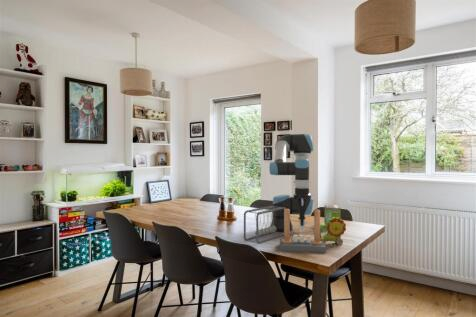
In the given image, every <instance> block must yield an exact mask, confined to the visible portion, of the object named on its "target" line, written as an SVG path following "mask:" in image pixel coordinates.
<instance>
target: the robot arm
mask: <svg viewBox="0 0 476 317" xmlns="http://www.w3.org/2000/svg"><path fill="white" fill-rule="evenodd" d="M274 149H275V155H274V159H273V161H271V162H270V163H269V167H268V169H269V174H270V175H271V176H294V181H293V183H294V187H295V188H294V193H293V196H291V194H280V195H275V196H274V197H272V206H274V208H275V209H276V208H277V207H285V208H286V209H290V215H295V216H296V215H299V217H298V220H299V224H298V226H299V228H298V229H299V232H303V233H304V232H305V231H306V230H305V229H306V228H305V226H306V225H305V224H306V223H305V219H306V216H309V215H311V214H312V212H313V206H314V197H313V196H312V193H310V160H309V159H310V156H311V155H312V152H313V151H314V144H313V138H312V135H311V134H308V133H298V134H297V133H296V134H295V133H294V134H291V133H289V134H284V135H283V136H281V137H280V138H279V139H277V140H276V142H275V146H274ZM288 152H293V156H295V160H294V161H290V162H288ZM275 214H276V216H275ZM274 221H275V222H274V226H275V227H276V231H275V232H276V233H284V209H281V210H277V211H274ZM270 223H271V225H270V224H269V227H271V226H272V221H270ZM293 228H294V226H293V223H292V221H291V218H290V232H292V231H293V230H294V229H293Z"/></svg>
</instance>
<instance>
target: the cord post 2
mask: <svg viewBox="0 0 476 317" xmlns="http://www.w3.org/2000/svg"><path fill="white" fill-rule="evenodd" d="M313 211H314V212H313V213H314V214H313V218H314V219H313V222H314V223H313V224H314V225H313V226H314V227H313V228H314V232H313V233H314V235H313V236H314V237H313V241H312V244H315V245H321V244H322V241H320V226H321V210H320V209H314V210H313Z"/></svg>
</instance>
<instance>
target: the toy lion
mask: <svg viewBox="0 0 476 317" xmlns="http://www.w3.org/2000/svg"><path fill="white" fill-rule="evenodd" d="M346 226H347V224H346V223H345V221H344V220H343V219H341V217H340V218H335V217H332V218H330V219H328V221H327V222H326V224H324V223H323V224H321V225H320V241H324V243H325V244H326V242H333V243H335V244H336V245H337V246H341V245H343V242H344V241H343V239H342V237H341V236H343V235H344V234H345V232H346V231H347V228H346ZM324 229H326V231H327V233H325V234H324V235H323V236H322V231H323V230H324Z"/></svg>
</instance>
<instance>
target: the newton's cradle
mask: <svg viewBox="0 0 476 317" xmlns="http://www.w3.org/2000/svg"><path fill="white" fill-rule="evenodd" d="M281 209H286V208H285V207H277V208H276V209H275V208H274V206H273V205H268V206H264V207H259V208H254V209H248V210H245V211H244V213H243V239H244V241H249V242H253V243H257V244H259V245H260V244H262V243H265V242H269V241H271V240H273V239H278V238H280V237H283V236H284V232H277V231H276V227H275V226H274V222H275V221H274V211H277V210H281ZM247 213H252V214H254V216H255V222H256V224H255V228H256V229H255V232H254V235H255V236H251V237H247V231H246V229H247V228H246V227H247V225H246V219H247ZM270 213H271V216H270ZM262 214H263V218H265V214H266V218H269V216H270V217H271V218H270V219H271V222H272V226H271V227H270V225H271V222H270V223H269V219H267V220H266V221H267V225H265V223H266V222H265V220H263V224H262V225H265V227H263V226H261V223H262V222H261V218H262V217H261V215H262ZM275 216H276V214H275ZM268 225H269V226H268ZM259 226H260V228H261V229H260V228H259ZM267 226H268V227H267ZM272 233H273V234H278V235H275V236H272V237H269V238H266V239H263V240H260V241H259V238H260V237H264V236H266V235H269V234H272ZM253 239H256V240H253Z"/></svg>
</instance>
